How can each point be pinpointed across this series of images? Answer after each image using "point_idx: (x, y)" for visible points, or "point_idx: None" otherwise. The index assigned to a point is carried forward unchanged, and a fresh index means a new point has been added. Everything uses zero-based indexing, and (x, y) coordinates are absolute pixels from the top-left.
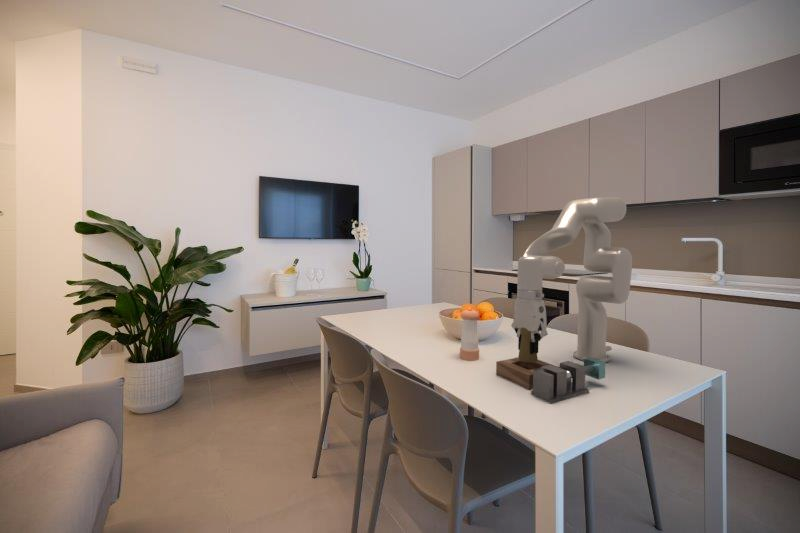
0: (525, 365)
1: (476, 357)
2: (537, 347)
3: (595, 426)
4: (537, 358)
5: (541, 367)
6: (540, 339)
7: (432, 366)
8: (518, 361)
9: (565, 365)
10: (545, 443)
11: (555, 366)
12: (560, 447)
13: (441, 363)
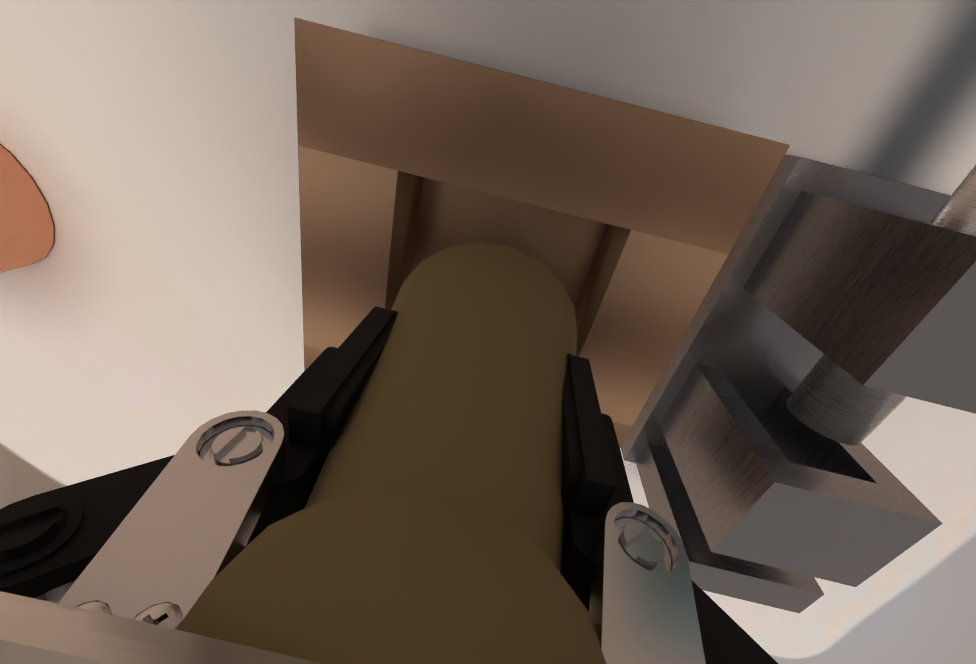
0: (411, 187)
1: (24, 206)
2: (611, 455)
3: (937, 535)
4: (566, 304)
5: (717, 551)
6: (685, 551)
7: (116, 452)
8: (386, 286)
9: (929, 399)
10: (772, 650)
11: (720, 156)
12: (813, 649)
13: (80, 400)
